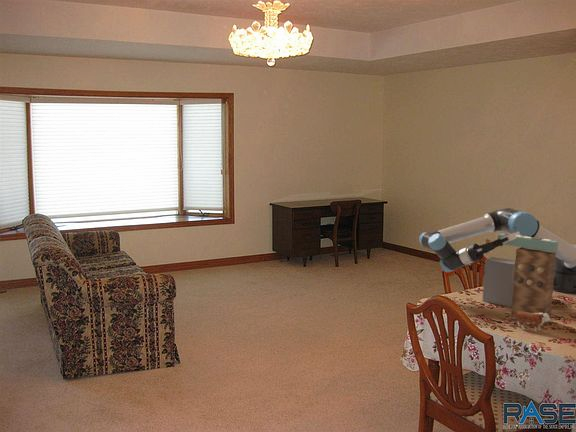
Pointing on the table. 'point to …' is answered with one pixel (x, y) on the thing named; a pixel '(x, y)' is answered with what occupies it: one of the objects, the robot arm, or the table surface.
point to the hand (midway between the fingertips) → (517, 234)
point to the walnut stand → (533, 281)
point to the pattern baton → (532, 243)
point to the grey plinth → (498, 281)
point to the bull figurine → (531, 319)
